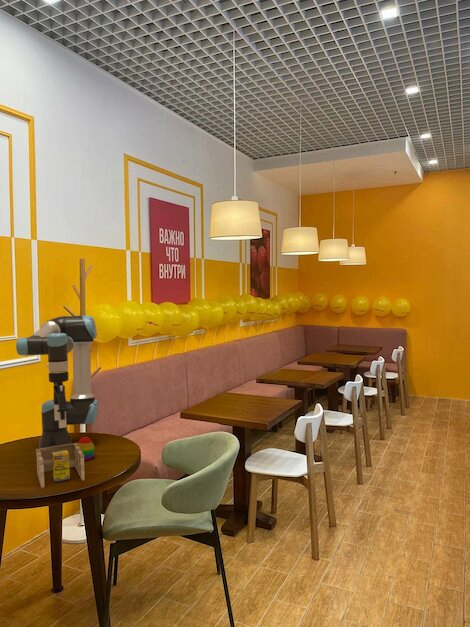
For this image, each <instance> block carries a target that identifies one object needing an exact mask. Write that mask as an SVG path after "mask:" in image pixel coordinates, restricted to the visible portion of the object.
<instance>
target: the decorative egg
mask: <svg viewBox="0 0 470 627" xmlns="http://www.w3.org/2000/svg"><path fill="white" fill-rule="evenodd" d="M76 443H77V444H78V446H79V448H80V449H81V451H82V453H83V454H84V461H89V460H91V459H92V458H93V456H95V455H94V454H95V444H94V443H93V441H92V440H91V438H90V437H88V436H82V437H81V438H80V439H79V440H78V442H76Z"/></svg>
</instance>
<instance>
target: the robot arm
mask: <svg viewBox="0 0 470 627" xmlns="http://www.w3.org/2000/svg"><path fill="white" fill-rule="evenodd" d="M96 326H97V325H96V320H95V319H94V317H93V316H91V315H69V316H68V315H66V316H65V315H63V316H58V317H55V318H54V317H53V318H51V319H49V320H47V321H45V322H44V323H42V325H41V326H40V327H39V329H38V330H36V331H35V332H34V333H33V334H32V335H30V336H29V337H19V338H18V339H16V340H17V341H16V344H15V345H16V346H15V347H16V354H17V355H19V356H26V357H28V356H46V355H47V361H48V362H47V364H46V367H48V372H49V373H48V382H49V383H53V397H52V398H53V399H50V400H46V401H44V402H43V403H42V404H41V412H40V413H41V428H42V429H41V430H42V432H41V435H40V439H39V443H38V449H39V448H46V447H52V446H59V445H65V444H72V438H71V436H70V433H69V431H68V426H71V425H75V426H77V425H88V424H94V422H96V420H97V416H98V409H99V401H98V400H97V399H95V394H93V393H92V365H91V363H92V361H91V359H92V357H91V345H92V344H93V343H94V340H95V339H97V338H98V337H97V336H98V335H97V327H96ZM70 352H72V376H73V378H72V379H73V380H72V381H73V382H72V386H73V388H72V390H73V391H72V392H73V394H72V395H71V396H70V399H69V401H67V398H66V387H65V384H64V383H65V382H68V381H69V378H70V377H69V358H68V354H69V353H70Z"/></svg>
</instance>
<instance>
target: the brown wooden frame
mask: <svg viewBox="0 0 470 627" xmlns="http://www.w3.org/2000/svg"><path fill="white" fill-rule="evenodd" d="M77 443H78V442H74V443H72V442H71V444H65V445H59V446H52V447H46V448H39V447H38V448H36V449H35V453H36V456H35V457H36V474H37V478H38V482H39V485H40V488H41V489H43V488H45V473H46V472H53V462H52V452H58V451H65V450H67V451H68V453H69V468H75V470H76V472H77V475H78V476H79V478H80V480H81V481H85V479H86V478H85V460H84V454H83V453H82V451H81V449H80V448H79V446H78V444H77Z"/></svg>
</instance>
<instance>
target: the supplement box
mask: <svg viewBox="0 0 470 627" xmlns="http://www.w3.org/2000/svg"><path fill="white" fill-rule="evenodd" d="M52 462H53V471H52V480H53V482H54V484H55V483H61V482H65V481H70V480H71V474H70V473H71V472H70V468H71V467H70V468H69V453H68V451H67V450H65V451H58V452H52Z"/></svg>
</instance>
